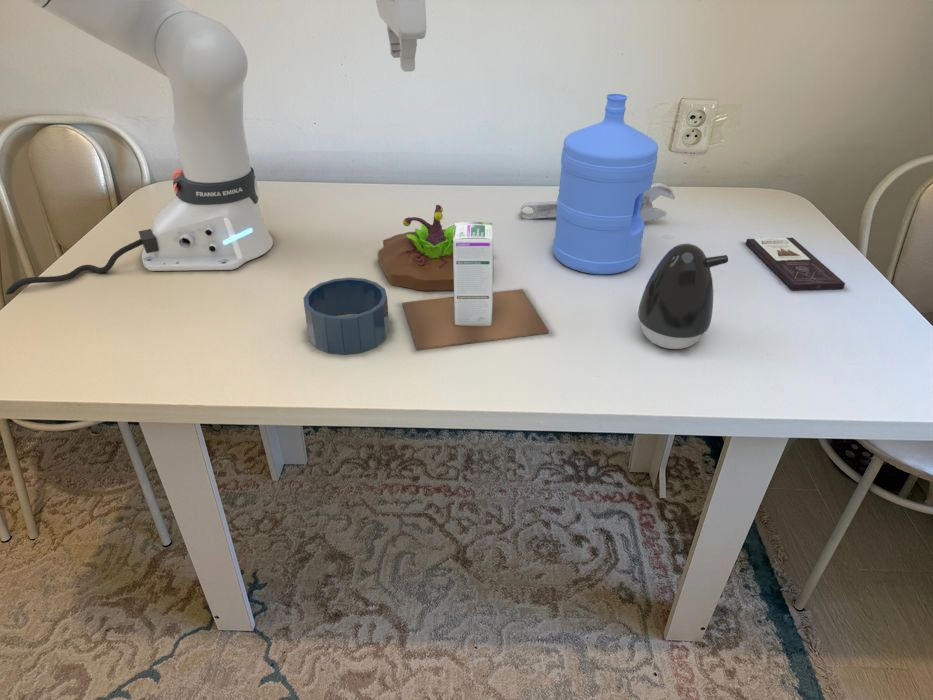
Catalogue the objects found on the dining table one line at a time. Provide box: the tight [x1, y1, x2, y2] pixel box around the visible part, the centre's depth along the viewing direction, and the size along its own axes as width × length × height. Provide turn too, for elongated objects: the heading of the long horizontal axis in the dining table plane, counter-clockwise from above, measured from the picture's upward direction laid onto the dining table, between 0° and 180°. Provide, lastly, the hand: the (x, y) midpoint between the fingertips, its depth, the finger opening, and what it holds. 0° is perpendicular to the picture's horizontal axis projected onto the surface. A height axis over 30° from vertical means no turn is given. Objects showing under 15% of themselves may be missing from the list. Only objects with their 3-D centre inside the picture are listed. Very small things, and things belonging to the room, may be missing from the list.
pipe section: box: [303, 277, 390, 356], centre depth 97 cm, size 12×12×6 cm
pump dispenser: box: [637, 243, 729, 350], centre depth 94 cm, size 10×10×15 cm
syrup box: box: [453, 221, 494, 326], centre depth 98 cm, size 6×6×14 cm
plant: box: [377, 204, 455, 292], centre depth 114 cm, size 20×20×11 cm
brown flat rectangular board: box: [401, 288, 550, 351], centre depth 102 cm, size 20×13×1 cm, turn 104°
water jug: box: [552, 93, 659, 275], centre depth 113 cm, size 16×16×28 cm
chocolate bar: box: [745, 237, 846, 291], centre depth 118 cm, size 9×1×18 cm
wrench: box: [519, 182, 675, 222], centre depth 132 cm, size 8×2×30 cm
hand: (402, 63), depth 94 cm, fingers open, 8 cm apart
